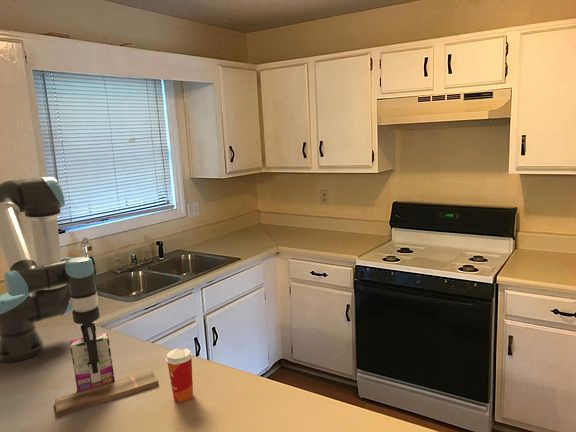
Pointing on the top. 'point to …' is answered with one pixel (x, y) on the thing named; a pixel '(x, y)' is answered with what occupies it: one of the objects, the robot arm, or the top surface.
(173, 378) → the paper cup
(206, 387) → the top surface
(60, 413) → the walnut board
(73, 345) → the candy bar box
